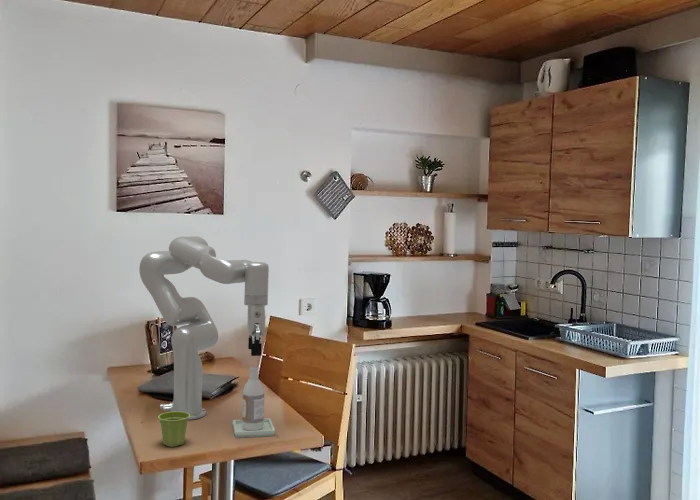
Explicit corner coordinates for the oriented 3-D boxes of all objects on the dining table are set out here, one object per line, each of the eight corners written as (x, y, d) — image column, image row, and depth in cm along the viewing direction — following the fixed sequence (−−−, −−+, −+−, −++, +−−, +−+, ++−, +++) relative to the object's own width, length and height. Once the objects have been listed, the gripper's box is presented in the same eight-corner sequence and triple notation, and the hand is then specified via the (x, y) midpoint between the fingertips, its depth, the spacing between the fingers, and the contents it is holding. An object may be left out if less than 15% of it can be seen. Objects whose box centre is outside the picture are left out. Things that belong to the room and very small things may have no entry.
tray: (235, 438, 204) (235, 432, 203) (232, 425, 216) (232, 420, 216) (275, 435, 207) (275, 430, 206) (270, 423, 219) (270, 418, 219)
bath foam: (240, 425, 213) (241, 365, 212) (260, 423, 216) (261, 364, 215) (244, 432, 207) (245, 370, 206) (265, 430, 209) (267, 369, 208)
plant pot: (161, 438, 202) (161, 411, 201) (191, 438, 202) (192, 411, 202) (154, 449, 192) (155, 420, 192) (186, 448, 193) (187, 420, 193)
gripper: (270, 304, 201) (269, 358, 202) (264, 296, 218) (263, 346, 219) (246, 304, 200) (245, 358, 201) (242, 296, 216) (240, 347, 217)
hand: (254, 352), depth 210 cm, fingers open, 9 cm apart
